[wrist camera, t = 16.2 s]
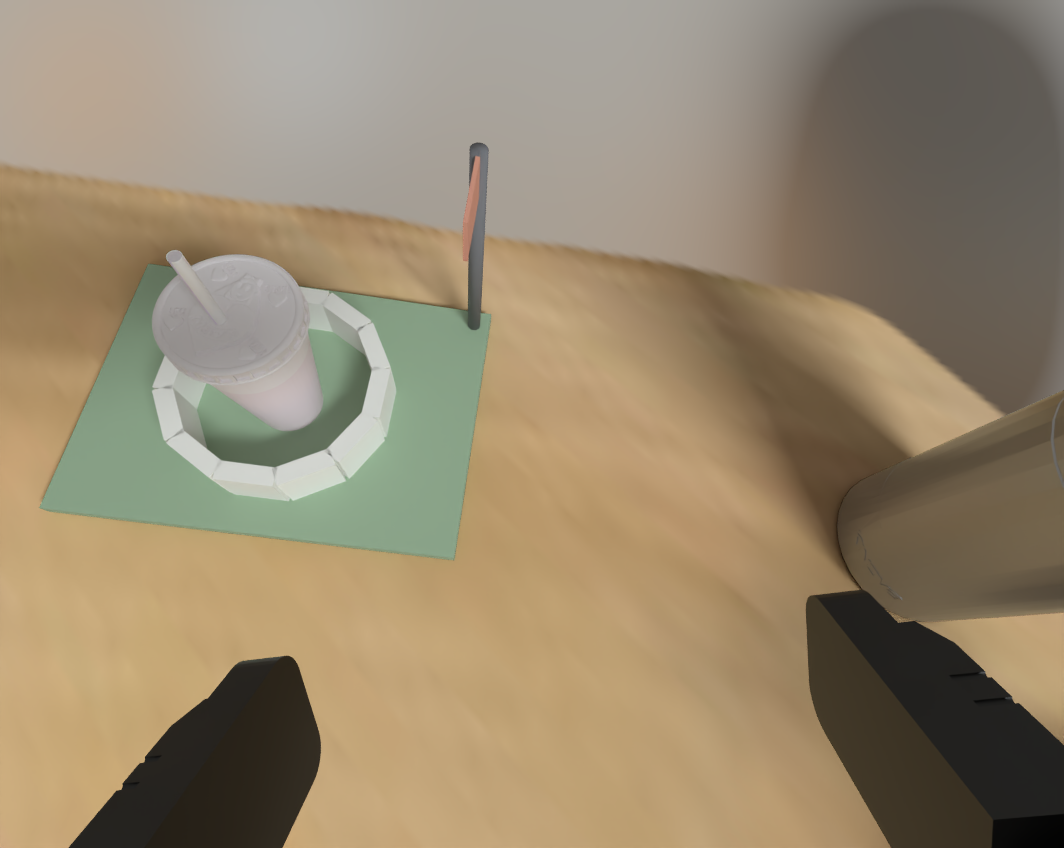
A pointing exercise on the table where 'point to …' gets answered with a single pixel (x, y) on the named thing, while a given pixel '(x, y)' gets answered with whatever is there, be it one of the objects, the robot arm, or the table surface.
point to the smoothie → (242, 335)
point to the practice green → (308, 453)
